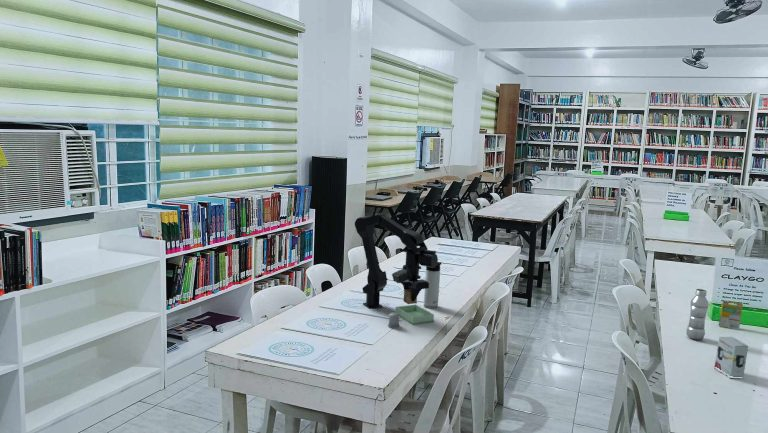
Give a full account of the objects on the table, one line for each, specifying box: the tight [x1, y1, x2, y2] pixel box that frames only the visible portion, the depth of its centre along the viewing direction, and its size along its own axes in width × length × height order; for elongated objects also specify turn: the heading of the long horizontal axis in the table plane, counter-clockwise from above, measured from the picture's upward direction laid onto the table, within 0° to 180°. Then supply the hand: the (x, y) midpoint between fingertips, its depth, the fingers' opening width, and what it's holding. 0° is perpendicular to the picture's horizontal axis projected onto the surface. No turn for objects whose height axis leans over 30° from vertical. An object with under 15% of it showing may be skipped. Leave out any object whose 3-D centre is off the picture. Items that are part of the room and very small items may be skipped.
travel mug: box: [423, 261, 442, 310], centre depth 252 cm, size 6×7×20 cm
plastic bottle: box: [686, 288, 710, 341], centre depth 227 cm, size 6×7×20 cm
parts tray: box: [394, 303, 435, 325], centre depth 238 cm, size 14×10×3 cm
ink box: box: [714, 336, 749, 378], centre depth 196 cm, size 9×5×12 cm, turn 5°
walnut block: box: [403, 289, 418, 305], centre depth 240 cm, size 4×4×5 cm
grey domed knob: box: [387, 312, 401, 329], centre depth 226 cm, size 5×5×5 cm
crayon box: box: [718, 300, 744, 331], centre depth 244 cm, size 7×3×12 cm, turn 65°
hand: (410, 299), depth 240 cm, fingers closed on walnut block, 4 cm apart
